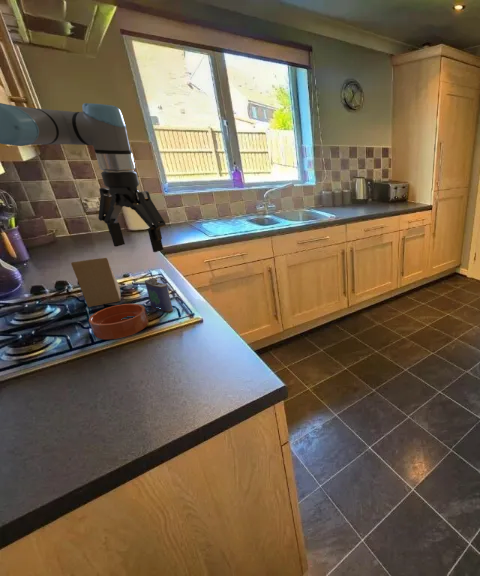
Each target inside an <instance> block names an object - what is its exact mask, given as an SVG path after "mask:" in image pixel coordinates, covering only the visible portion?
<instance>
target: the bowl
mask: <svg viewBox="0 0 480 576" xmlns="http://www.w3.org/2000/svg"><path fill="white" fill-rule="evenodd" d="M127 316H135V317H133V318H129V319H122V318H124V317H127ZM121 319H122V320H121ZM149 321H150V320H149V317H148V314H147V310H146V306H144V305H142V304H141V303H140V304H139V303H122V304H116V305H112V306H109V307H105V308H102V309H100V310H98V311H96V312H94V313H93V314H91V315H90V316H89V319H88V323H89V326H90V328H91V332H92V334H93V336H94V337H95V338H97V339H99V340H104V341H105V340H117V339H123V338H126V337H130V336H132V335H135V334H137V333H139V332H141V331H142V330H144V329H145V328H146V327H147V326H148V325H149V323H150V322H149Z"/></svg>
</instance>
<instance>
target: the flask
mask: <svg viewBox="0 0 480 576" xmlns="http://www.w3.org/2000/svg"><path fill="white" fill-rule="evenodd" d="M144 284H145V288H146V291H147V295H148V299H149V303H150V308H152V309H153V310H155V311H158V312H160V313H165V314H167V313H168V314H169V313H171V312H173V311H174V308H173V304H172V301H171V296H170V292H169V287H168V284H166V283H162V282H159V281H158V277H157V276H156V277H149V278H148V279H145V280H144ZM154 306H156V307H159V308H161V309H159V308H156V307H154Z"/></svg>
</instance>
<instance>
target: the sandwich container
mask: <svg viewBox="0 0 480 576" xmlns="http://www.w3.org/2000/svg"><path fill="white" fill-rule="evenodd" d="M70 264H71V267H72V270H73V272H74V274H75V275H74V276H75V277H76V280H77V282H78V285H79V287H80V291H81V293H82V296H83V297H84V300H85V302H86V305H87V307H88V308H91V307H97V306H101V305H107V304H112V303H116V302H121V288H120V284H119V282H118V279H117V278H116V276H115V273H114V272H113V270H112V269H113V268H112V267H111V264H110V262H109V259H108V257H100V258H92V259H91V258H90V259H85V260H84V259H83V260H78V261H71V263H70Z"/></svg>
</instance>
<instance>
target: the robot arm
mask: <svg viewBox="0 0 480 576" xmlns="http://www.w3.org/2000/svg"><path fill="white" fill-rule="evenodd" d="M81 107H82V111H71V110H70V111H68V110H57V109H47V108H37V107H27V106H19V105H13V104H7V103H2V102H0V145H6V146H16V147H24V146H25V147H26V146H36V145H37V146H39V145H40V146H41V145H43V146H45V145H47V146H48V145H50V146H51V145H75V146H81V145H82V146H92V147H93V149H94V153H95V157H96V161H97V164H98V168H99V170H101V173H100V175H101V178H102V183H103V185H104V187H100V188H99V190H98V191H99V195H100V197H99V198H100V199H99V207H98V208H99V209H98V216H97V217H98V220H99V221H100V222H101V221H102V222H104V224H106V226H107V229H108V233H109V234H110V236H111V241H112V243H113V246H114V248H115V247H120V246H124V245H126V242H125V239H124V236H123V232H122V228H121V224H120V222H119V221H118V218H119V215H120V214H121V211H122V209H123V207H124V208H130V209H131V210H132V211H134V212H135V213H136V214H137V215H138V216H139V217H140V219H141V220H142V221H143V222H144V223H145V224H146V225H147V227H148V228H147V233H148V236H149V240H150V244H151V249H152V252H153V253H158V252H161V251H163V250H164V247H163V241H162V240H163V236H162V232H161V228H163V227H165V226H166V225H167V224H166V222H165V220H164V218H163V217H162V215H161V213H160V212H159V210H158V208H157V207H156V206H155V204H154V202H153V200H152V199H151V195H150V193H149V191H147V190H146V191H145V190H144V191H139V190H138V186H139V185H140V182H139V177H138V172H136V171H134V170H136V165H135V162H134V161H135V160H134V156H133V153H132V149H131V145H130V141H129V135H128V131H127V125H126V124H125V120H124V116H123V113H122V110H121V109H120V108H119V107H117V106H116V105H112V104H104V103H91V102H90V103H88V102H84V103H82V106H81Z"/></svg>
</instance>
